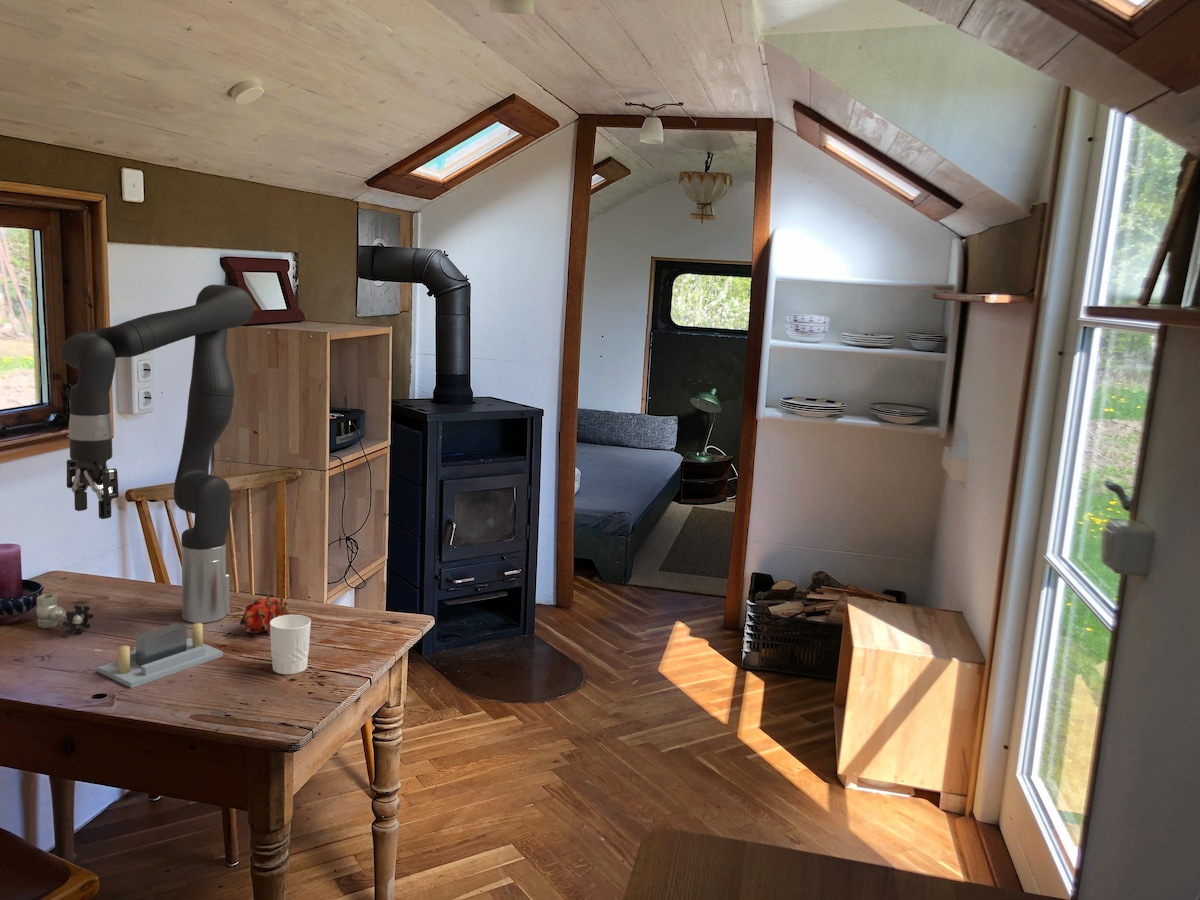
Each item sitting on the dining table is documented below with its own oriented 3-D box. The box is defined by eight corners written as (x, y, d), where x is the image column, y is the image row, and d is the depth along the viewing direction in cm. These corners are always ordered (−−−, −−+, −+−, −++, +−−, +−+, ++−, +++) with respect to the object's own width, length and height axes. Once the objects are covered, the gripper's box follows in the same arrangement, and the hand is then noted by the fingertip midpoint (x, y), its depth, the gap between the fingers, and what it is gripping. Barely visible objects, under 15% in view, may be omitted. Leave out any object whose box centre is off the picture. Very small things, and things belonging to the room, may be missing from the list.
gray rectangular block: (177, 650, 193) (177, 622, 192) (186, 654, 191) (186, 626, 190) (136, 664, 185) (135, 635, 184) (145, 668, 184) (144, 639, 183)
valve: (26, 628, 201) (66, 640, 197) (25, 598, 200) (65, 610, 195) (55, 618, 207) (94, 630, 203) (54, 590, 206) (93, 601, 201)
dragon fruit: (293, 631, 213) (245, 652, 205) (273, 603, 216) (225, 623, 207) (302, 610, 208) (253, 631, 199) (282, 581, 211) (233, 600, 202)
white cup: (268, 662, 193) (268, 616, 191) (307, 658, 196) (308, 613, 194) (270, 678, 186) (271, 630, 184) (312, 673, 189) (312, 627, 187)
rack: (189, 642, 200) (189, 615, 199) (223, 656, 194) (222, 628, 193) (98, 672, 183) (97, 643, 182) (131, 688, 177) (131, 658, 176)
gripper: (129, 439, 187) (131, 517, 189) (89, 428, 194) (91, 504, 197) (92, 443, 180) (94, 524, 183) (52, 432, 187) (54, 510, 190)
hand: (92, 514), depth 190 cm, fingers open, 8 cm apart
